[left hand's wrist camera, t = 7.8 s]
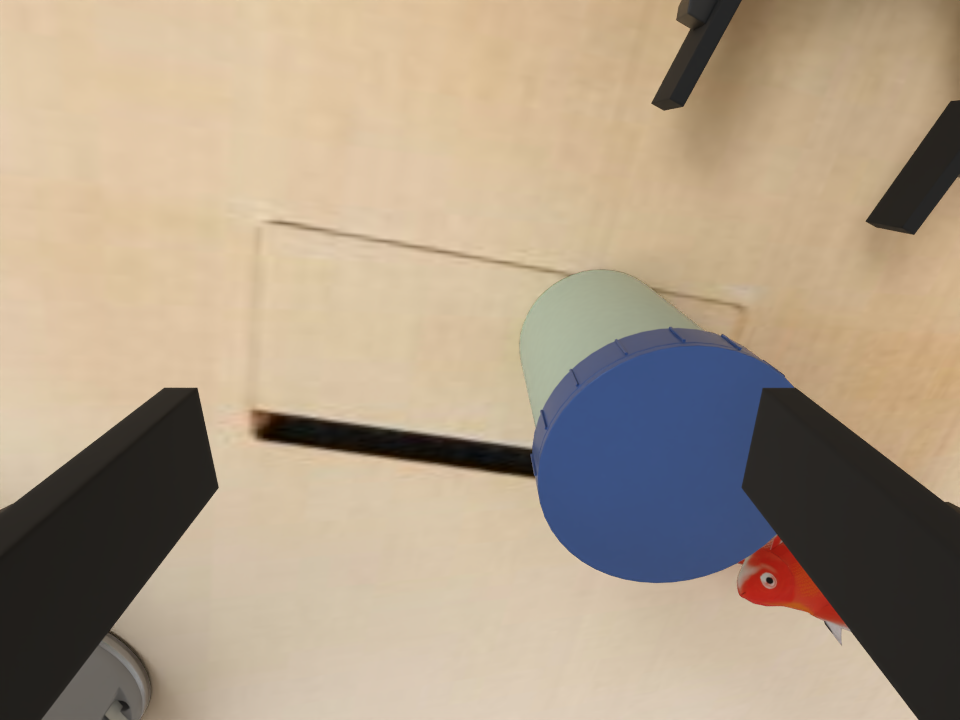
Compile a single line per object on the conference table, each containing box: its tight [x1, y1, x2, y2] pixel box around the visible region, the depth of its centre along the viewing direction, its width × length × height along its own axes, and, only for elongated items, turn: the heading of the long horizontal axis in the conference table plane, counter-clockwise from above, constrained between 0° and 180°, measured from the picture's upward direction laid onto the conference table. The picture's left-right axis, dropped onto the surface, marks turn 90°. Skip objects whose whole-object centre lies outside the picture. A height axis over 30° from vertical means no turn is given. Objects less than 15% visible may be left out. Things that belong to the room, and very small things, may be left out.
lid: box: [531, 327, 794, 583], centre depth 23 cm, size 11×11×2 cm
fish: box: [737, 534, 850, 646], centre depth 39 cm, size 11×16×10 cm
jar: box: [520, 270, 704, 427], centre depth 30 cm, size 10×10×16 cm
